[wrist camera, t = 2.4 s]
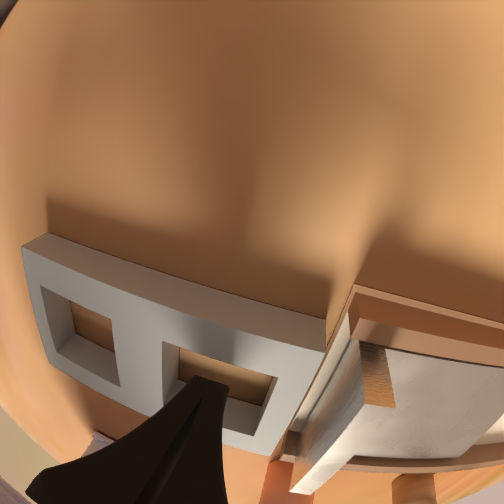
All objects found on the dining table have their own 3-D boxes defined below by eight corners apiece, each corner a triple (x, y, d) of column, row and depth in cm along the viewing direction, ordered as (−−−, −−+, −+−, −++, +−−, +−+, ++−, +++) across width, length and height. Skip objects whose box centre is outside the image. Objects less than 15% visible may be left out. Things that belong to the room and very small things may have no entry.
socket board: (67, 345, 16) (49, 362, 14) (48, 232, 13) (21, 246, 11) (275, 427, 15) (269, 456, 13) (325, 319, 11) (325, 353, 9)
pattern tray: (285, 428, 14) (279, 460, 12) (354, 283, 10) (360, 317, 8) (510, 440, 12) (517, 461, 10) (587, 345, 8) (600, 364, 6)
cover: (298, 433, 13) (288, 491, 10) (357, 328, 10) (364, 403, 7) (456, 447, 12) (465, 492, 9) (531, 362, 9) (557, 410, 6)
